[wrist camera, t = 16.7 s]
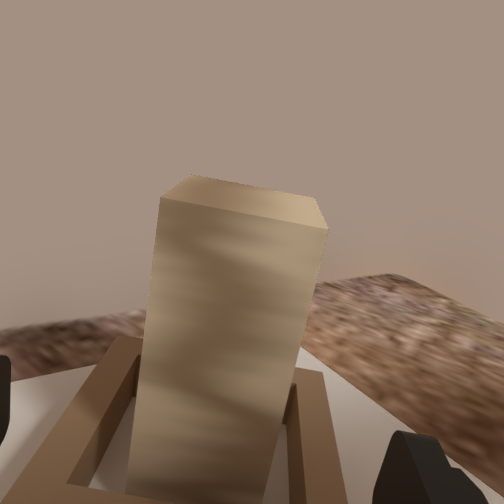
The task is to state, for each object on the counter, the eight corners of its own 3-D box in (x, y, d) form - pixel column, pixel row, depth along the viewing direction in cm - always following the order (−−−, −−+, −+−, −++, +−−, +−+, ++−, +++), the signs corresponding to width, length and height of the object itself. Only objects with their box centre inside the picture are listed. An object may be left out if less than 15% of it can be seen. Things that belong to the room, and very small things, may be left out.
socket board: (271, 338, 33) (280, 296, 32) (519, 532, 20) (549, 472, 19) (-168, 440, 18) (-178, 367, 17) (-301, 1439, 5) (-373, 1393, 4)
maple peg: (258, 440, 21) (314, 197, 18) (254, 534, 17) (328, 229, 13) (157, 421, 21) (191, 174, 18) (122, 510, 17) (160, 197, 13)
